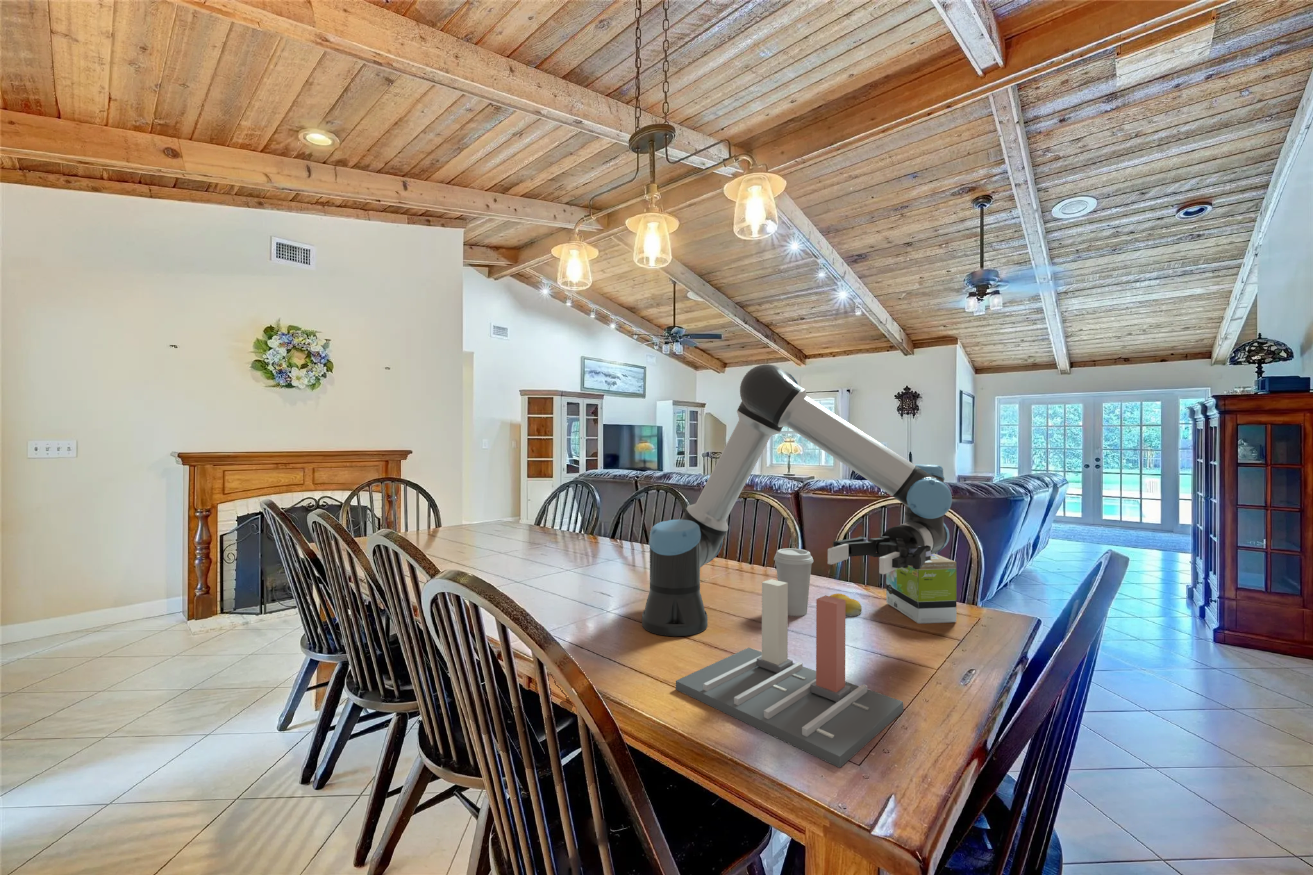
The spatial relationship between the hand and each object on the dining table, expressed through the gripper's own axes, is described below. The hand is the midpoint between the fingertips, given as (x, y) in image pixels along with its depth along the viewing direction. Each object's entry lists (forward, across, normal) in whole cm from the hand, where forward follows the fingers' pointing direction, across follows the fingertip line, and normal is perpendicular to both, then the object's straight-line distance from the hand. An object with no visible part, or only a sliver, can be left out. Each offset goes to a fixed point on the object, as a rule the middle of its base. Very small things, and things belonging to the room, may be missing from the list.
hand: (854, 561), depth 92 cm
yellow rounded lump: (-38, +21, -22) cm, 49 cm away
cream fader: (+6, +12, -20) cm, 24 cm away
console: (+12, +6, -22) cm, 26 cm away
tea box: (-50, +7, -22) cm, 55 cm away
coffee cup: (-28, +29, -22) cm, 46 cm away
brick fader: (+8, 0, -20) cm, 22 cm away
